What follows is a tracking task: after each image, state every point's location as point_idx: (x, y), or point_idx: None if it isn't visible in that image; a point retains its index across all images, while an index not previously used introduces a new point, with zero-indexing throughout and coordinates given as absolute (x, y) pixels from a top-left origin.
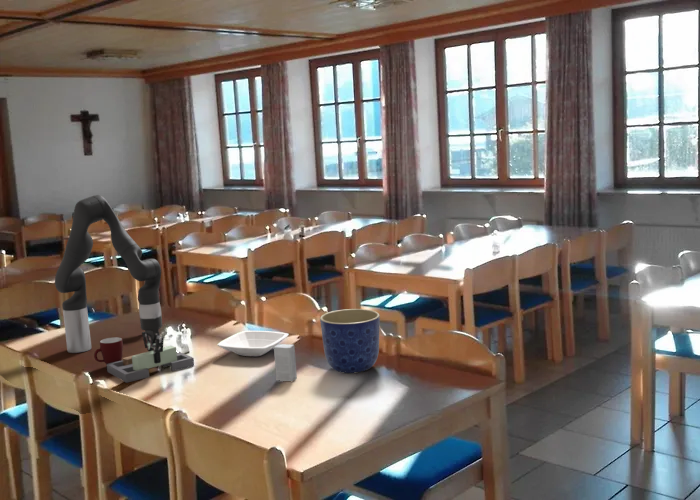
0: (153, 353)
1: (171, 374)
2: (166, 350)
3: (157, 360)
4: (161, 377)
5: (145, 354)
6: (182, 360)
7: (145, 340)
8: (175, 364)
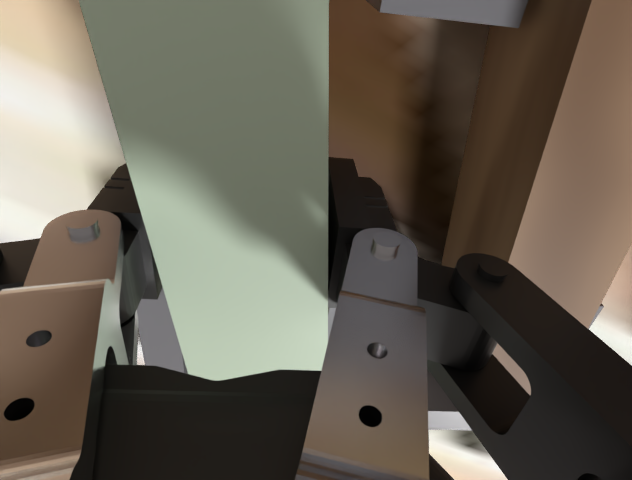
0: (144, 215)
1: (59, 182)
2: None
3: (117, 181)
4: (10, 65)
5: (172, 72)
6: (148, 362)
7: (554, 388)
8: None
